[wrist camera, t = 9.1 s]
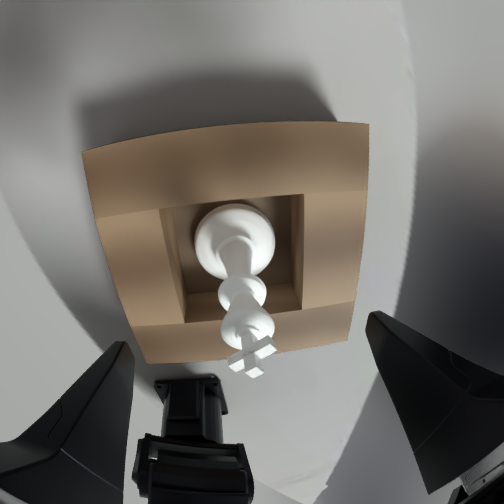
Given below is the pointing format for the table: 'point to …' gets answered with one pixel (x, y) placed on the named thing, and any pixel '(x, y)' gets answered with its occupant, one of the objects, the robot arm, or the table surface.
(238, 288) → the chess piece
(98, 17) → the table surface
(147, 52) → the table surface
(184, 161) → the tan wooden square block
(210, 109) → the table surface
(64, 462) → the robot arm
